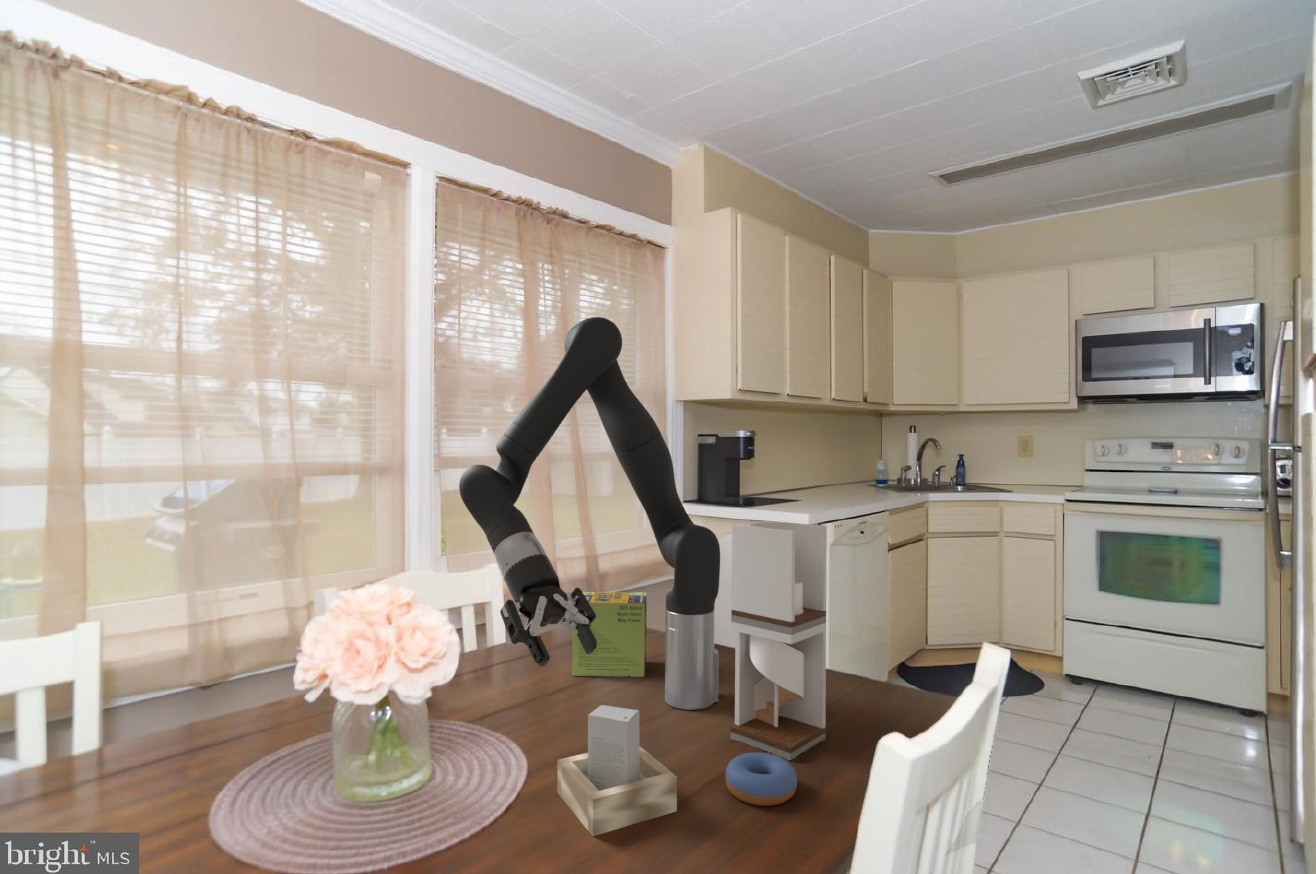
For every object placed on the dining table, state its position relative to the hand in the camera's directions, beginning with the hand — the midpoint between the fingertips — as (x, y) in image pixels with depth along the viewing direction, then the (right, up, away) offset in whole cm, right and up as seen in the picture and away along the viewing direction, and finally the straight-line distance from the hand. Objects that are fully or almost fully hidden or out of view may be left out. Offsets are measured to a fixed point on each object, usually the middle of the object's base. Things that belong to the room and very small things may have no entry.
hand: (569, 656), depth 99 cm
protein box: (+3, -18, +47) cm, 50 cm away
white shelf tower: (+33, -18, +12) cm, 39 cm away
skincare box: (+7, -17, -8) cm, 20 cm away
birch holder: (+7, -17, -8) cm, 20 cm away
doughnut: (+27, -18, -4) cm, 33 cm away
